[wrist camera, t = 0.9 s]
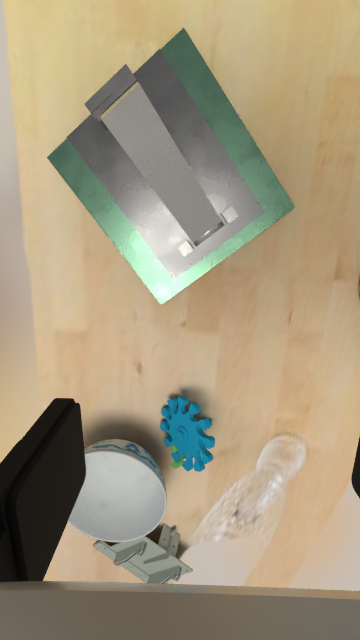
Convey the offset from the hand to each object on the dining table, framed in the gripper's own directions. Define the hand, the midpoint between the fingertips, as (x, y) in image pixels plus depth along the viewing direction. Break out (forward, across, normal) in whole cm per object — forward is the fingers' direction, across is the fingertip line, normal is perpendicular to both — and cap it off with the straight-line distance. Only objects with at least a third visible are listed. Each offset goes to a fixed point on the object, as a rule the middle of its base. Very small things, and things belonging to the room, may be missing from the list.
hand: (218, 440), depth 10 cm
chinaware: (+31, +11, +28) cm, 43 cm away
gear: (+31, +1, +20) cm, 37 cm away
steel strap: (+21, +3, -11) cm, 24 cm away
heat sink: (+31, +3, -12) cm, 33 cm away
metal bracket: (+32, +7, +46) cm, 57 cm away
